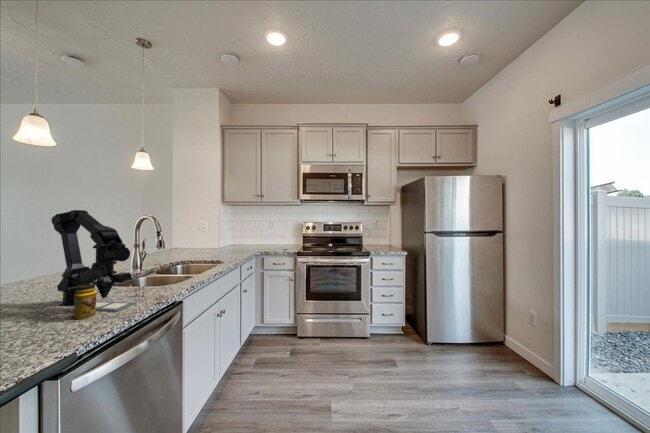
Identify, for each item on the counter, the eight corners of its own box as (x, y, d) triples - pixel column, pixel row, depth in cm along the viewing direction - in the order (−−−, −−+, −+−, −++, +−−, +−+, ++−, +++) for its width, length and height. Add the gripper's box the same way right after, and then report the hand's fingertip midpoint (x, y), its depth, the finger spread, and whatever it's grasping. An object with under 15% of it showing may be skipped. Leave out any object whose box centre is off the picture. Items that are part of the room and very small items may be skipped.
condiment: (94, 318, 95) (95, 286, 95) (63, 323, 90) (63, 289, 90) (98, 312, 101) (99, 281, 101) (69, 316, 96) (69, 284, 96)
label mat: (74, 310, 102) (74, 308, 102) (95, 302, 111) (95, 300, 111) (117, 311, 102) (117, 309, 102) (135, 304, 111) (135, 302, 111)
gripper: (62, 262, 97) (61, 303, 97) (109, 263, 96) (108, 305, 96) (90, 257, 108) (89, 294, 108) (132, 259, 107) (132, 296, 107)
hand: (104, 297), depth 104 cm, fingers closed
